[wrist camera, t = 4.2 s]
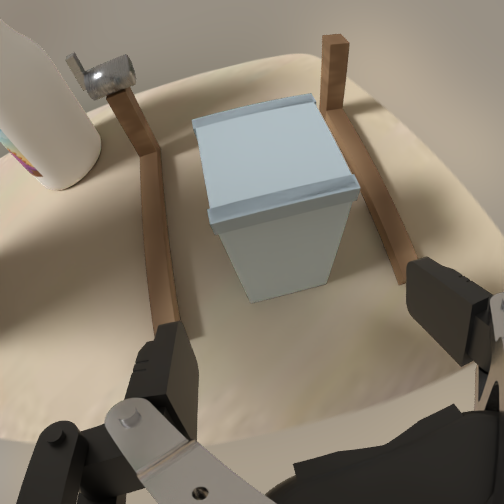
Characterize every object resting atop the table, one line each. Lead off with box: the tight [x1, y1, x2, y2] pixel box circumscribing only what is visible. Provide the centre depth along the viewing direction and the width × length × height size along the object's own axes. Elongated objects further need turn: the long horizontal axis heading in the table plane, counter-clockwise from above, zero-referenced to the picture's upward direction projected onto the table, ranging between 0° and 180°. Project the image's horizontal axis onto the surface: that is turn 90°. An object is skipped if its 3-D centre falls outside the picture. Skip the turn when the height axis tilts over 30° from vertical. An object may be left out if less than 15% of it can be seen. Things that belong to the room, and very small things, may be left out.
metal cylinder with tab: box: [65, 52, 136, 100], centre depth 17 cm, size 4×2×4 cm, turn 103°
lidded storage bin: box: [192, 93, 361, 303], centre depth 17 cm, size 5×5×11 cm
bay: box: [106, 34, 418, 336], centre depth 20 cm, size 18×17×8 cm
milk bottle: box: [0, 18, 101, 190], centre depth 19 cm, size 8×8×20 cm
